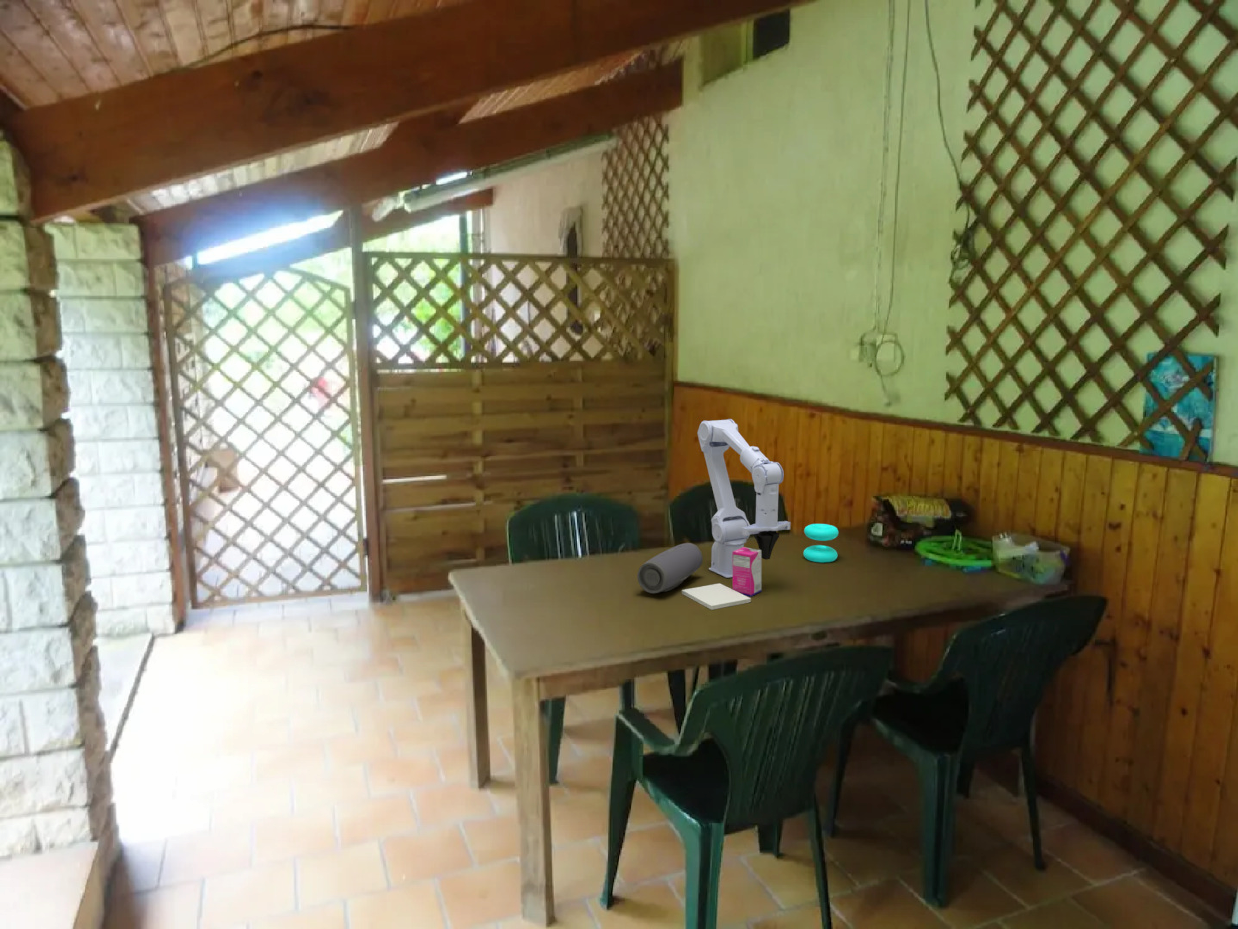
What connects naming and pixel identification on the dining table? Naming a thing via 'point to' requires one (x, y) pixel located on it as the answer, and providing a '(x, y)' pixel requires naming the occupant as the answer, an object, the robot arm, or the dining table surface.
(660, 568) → the bluetooth speaker
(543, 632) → the dining table surface
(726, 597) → the mat
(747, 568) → the supplement box
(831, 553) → the donuts
